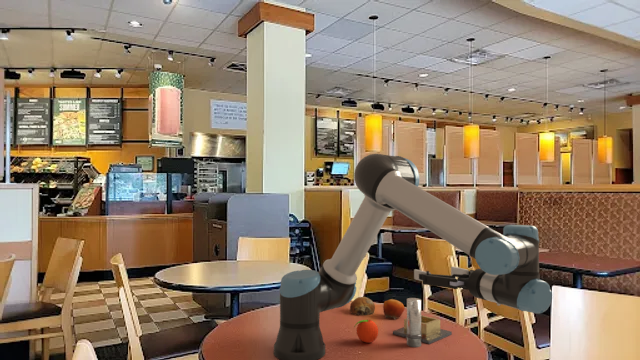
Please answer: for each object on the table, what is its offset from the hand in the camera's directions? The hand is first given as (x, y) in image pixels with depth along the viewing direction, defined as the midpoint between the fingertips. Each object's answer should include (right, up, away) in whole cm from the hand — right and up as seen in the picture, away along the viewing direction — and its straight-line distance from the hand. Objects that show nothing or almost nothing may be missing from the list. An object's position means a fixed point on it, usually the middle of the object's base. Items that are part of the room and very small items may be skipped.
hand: (433, 272), depth 130 cm
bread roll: (-17, -26, +46) cm, 55 cm away
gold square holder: (+1, -25, +18) cm, 31 cm away
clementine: (-19, -24, +10) cm, 32 cm away
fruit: (-6, -26, +39) cm, 47 cm away
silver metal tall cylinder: (-4, -24, +8) cm, 26 cm away
